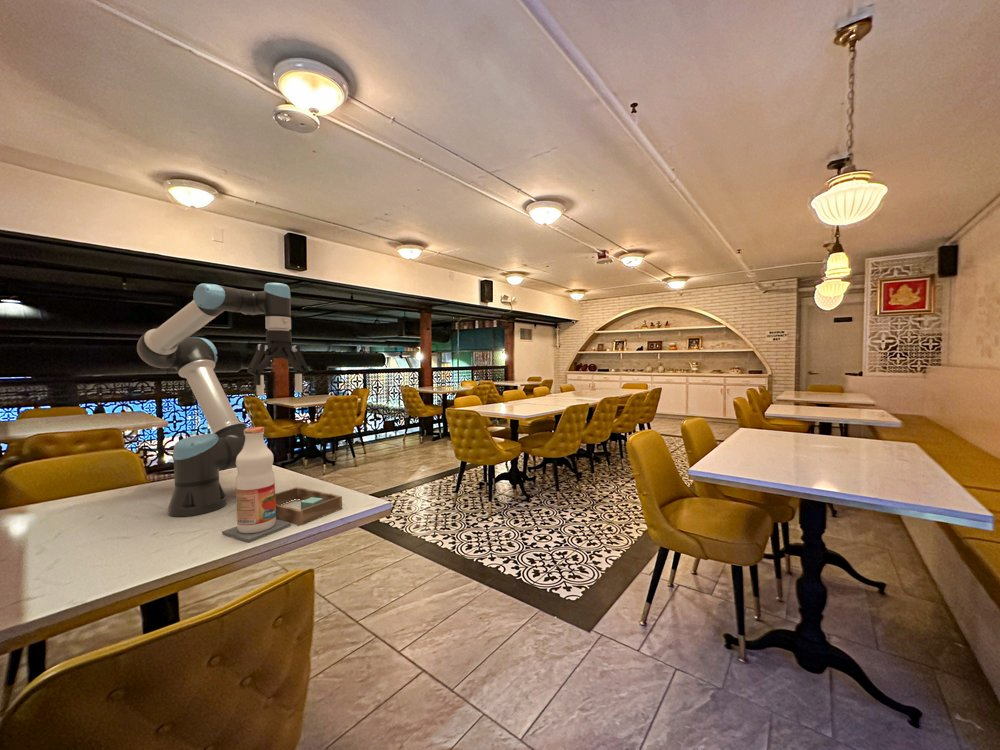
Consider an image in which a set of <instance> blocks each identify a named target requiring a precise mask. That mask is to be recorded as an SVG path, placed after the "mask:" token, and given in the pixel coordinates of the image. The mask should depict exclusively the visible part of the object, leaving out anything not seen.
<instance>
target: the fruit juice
mask: <svg viewBox="0 0 1000 750" xmlns="http://www.w3.org/2000/svg"><path fill="white" fill-rule="evenodd" d="M264 434H265V427H263V426H255V427H254V426H253V427H248V428H246V429H244V435H245V443H244V446H243V449H242V451H241V452H240V453H239V454H238V456H237V458H236V467H235V468H236V469H237V475H236V477H235V500H236V502H235V503H236V526H237V529H238V531H239V532H240V533H256V532H261V531H264V530H267V529H270V528H271V527H273V526H274V525H275V523H276V500H275V494H276V477H275V476H276V475H275V473H274V470H273V464H274V458H275V457H274V453H273V452H272V450H271V449H269V447H268V446H267V445H266V442H265V438H264Z"/></svg>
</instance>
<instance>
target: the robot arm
mask: <svg viewBox="0 0 1000 750" xmlns="http://www.w3.org/2000/svg"><path fill="white" fill-rule="evenodd" d="M192 294H193V295H192V296H193V299H192V300H191V302H188V303H187V304H186V305H185V306H184V307H183V308H181V309H180V310H179V311H177V312H176V313H175V314H174V315H173V316H171V317H170V318H168V319H167V320H165V322H164V323H162V324H161V325H159V327H156V328H152V329H149V330H147V331H146V332H145V333H143V334H142V335H141V337H139V339H138V342H137V344H136V352H137V354H138V356H139V358H140V359H141V360H142V362H145V364H148V365H149V366H151V367H153V368H159V369H175V370H176V372H177V374H178V376H179V377H180V378H183V379H186V381H187V383H188V384H189V386H190V390H191V391H192V393H193V395H194V397H195V399H196V401H197V404H198V405H199V407H200V409H201V411H202V414H203V415H204V418H205V419H206V422H207V423H208V426H209V428H210V430H211V432H212V433H202V434H196V435H193V436H191V435H190V436H188V437H184V438H182V439H179V440H178V441H177V442H175V444H174V445H173V454H172V459H173V477H174V480H173V481H174V490H173V492H172V495H171V498H170V500H169V504H168V506H167V507H168V509H167V510H168V512H167V513H168V515H169V516H171V517H179V518H180V517H191V516H198V515H202V514H207V513H210V512H214V511H218V510H220V509H221V508H223V507H225V506H226V505H227V496H226V494H225V490H224V489H223V487H222V484H221V483H220V472H221V471H225V470H229V469H232V468H237V467H236V458H237V456H238V454H239V453H240V452H241V451H242V449H243V446H244V443H245V435H244V429H246V428H249V427H248V426H247V424H246V423H245V422H242V421H239V419H238V416H237V415H236V413H235V410H234V409H233V406H232V405H231V403H230V401H229V399H228V397H227V394H226V393H225V391H224V389H223V386H222V385H221V383H220V380H219V379H218V377H217V374H216V373H215V371H214V369H215V367H216V363H217V362H218V356H217V355H218V350H217V348H216V346H215V345H214V343H213V342H212V341H210V340H209V339H207V338H205V337H199V336H192V335H193V334H195V333H197V331H199V330H201V329H202V328H203V327H205V326H206V325H208V324H209V322H211V321H212V320H214V319H216V317H218V316H219V315H221V314H222V313H224V312H225V311H226V312H233V313H241V314H243V315H246V316H247V315H250V316H256V315H265V318H264V319H265V329H266V331H265V341H266V344H264V343H259V344H257V345H256V350H255V353H254V355H253V357H252V359H251V361H250V364H249V366H248V367H247V370H246V373H248V374H251V375H252V376H253V384H254V386H256V396H262V397H263V396H265V379H264V376H265V375H264V374H262V373H263V372H264V370H265V369H267V367H268V366H269V364H271V362H272V361H273V360H275V359H284V360H286V361H287V362H288V363H289V365H290V366H291V367H292V368H293V370H294V371H295V372H296V373H294V388H295V389H294V391H295V393H303V384H304V382H305V379H304V377H305V376H304V374H306V373H308V372H309V371H310V368H309V367H308V364H307V362H306V360H305V358H304V356H303V354H302V352H301V346H300V345H299V344H298V345H292V341H293V339H292V331H291V330H292V310H291V309H292V306H291V305H292V304H291V298H292V297H291V289H290V286H289V285H288V284H285V283H280V282H267V283H265V284H264V289H263V291H262V290H261V291H252V290H247V289H241V288H240V289H239V288H235V287H229V286H224V285H219V284H214V283H200V284H198V285H196V287H195V290H194V291H193V293H192ZM266 351H267V353H266V354H265V352H266ZM264 354H265V355H264ZM263 356H264V358H263ZM262 358H263V359H262Z"/></svg>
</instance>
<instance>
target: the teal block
mask: <svg viewBox="0 0 1000 750" xmlns="http://www.w3.org/2000/svg"><path fill="white" fill-rule="evenodd" d="M321 502H323V498H315V497H311V498H309V499H306V500H304V501H300V510H302V509H305V508H307V507H310V506H313V505H316V504H318V503H321Z"/></svg>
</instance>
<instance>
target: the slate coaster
mask: <svg viewBox="0 0 1000 750" xmlns="http://www.w3.org/2000/svg"><path fill="white" fill-rule="evenodd" d="M291 526H292V523H289V522H286V521H282V520H278V519H276V523H275V525H274V526H273V527H271V528H270V529H267V530H264V531H261V532H256V533H240V532H239V531H238V529H237V525H236V526H234V527H231V528H228V529H225V530H222V535H224V536H228V537H229V538H233V539H235V540H236V539H237V540H239V541H243V542H245V543H252V542H254V541H257V540H259V539H262V538H265V537H267V536H270V535H272V534H274V533H277V532H279V531H282V530H285V529H287V528H289V527H291Z"/></svg>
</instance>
